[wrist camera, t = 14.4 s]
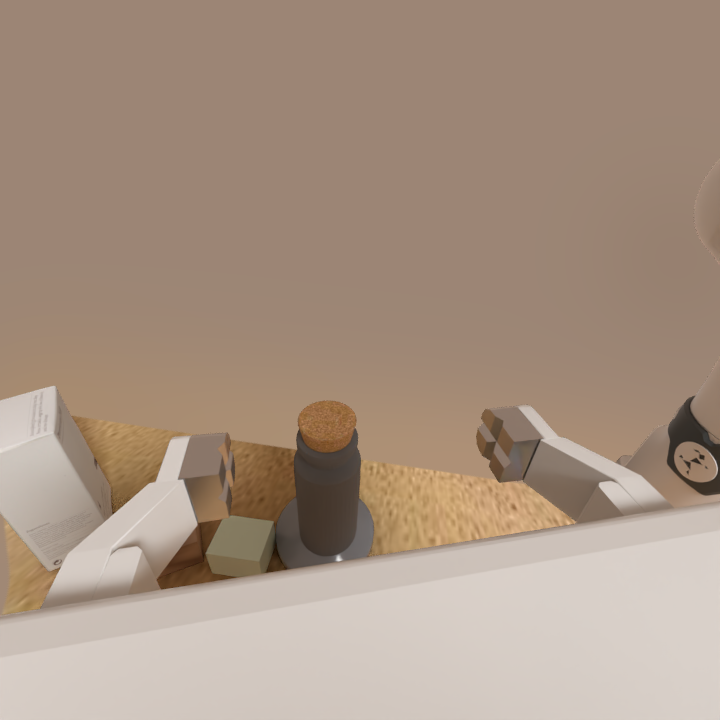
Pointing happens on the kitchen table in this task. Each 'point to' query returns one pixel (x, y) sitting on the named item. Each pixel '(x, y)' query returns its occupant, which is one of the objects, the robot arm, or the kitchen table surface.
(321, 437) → the bottle
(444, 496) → the kitchen table surface
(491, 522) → the kitchen table surface
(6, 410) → the skincare box
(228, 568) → the sage block
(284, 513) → the grey dome disc
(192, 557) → the walnut block
